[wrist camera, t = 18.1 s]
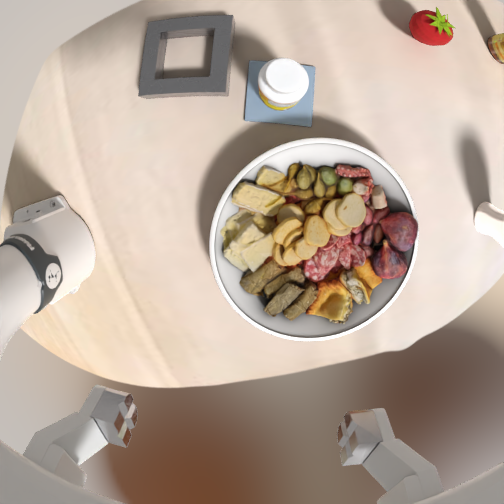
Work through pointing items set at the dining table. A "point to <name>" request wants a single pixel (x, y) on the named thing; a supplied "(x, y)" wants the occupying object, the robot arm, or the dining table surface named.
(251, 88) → the pad
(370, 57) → the dining table surface
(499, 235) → the beer glass
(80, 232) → the robot arm
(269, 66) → the supplement bottle
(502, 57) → the sauce bottle
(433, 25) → the strawberry
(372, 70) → the dining table surface
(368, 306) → the bowl
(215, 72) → the socket housing
